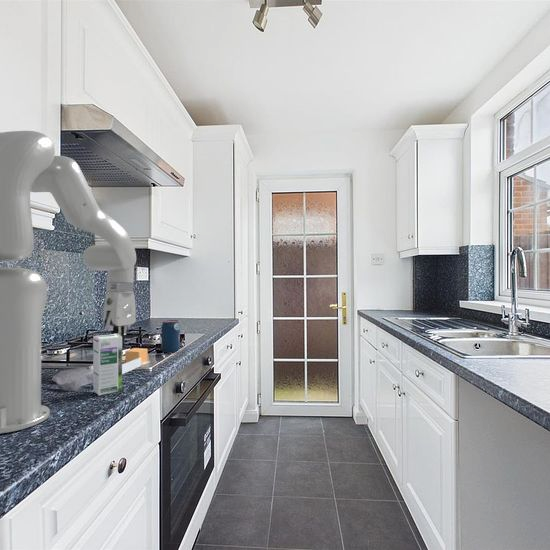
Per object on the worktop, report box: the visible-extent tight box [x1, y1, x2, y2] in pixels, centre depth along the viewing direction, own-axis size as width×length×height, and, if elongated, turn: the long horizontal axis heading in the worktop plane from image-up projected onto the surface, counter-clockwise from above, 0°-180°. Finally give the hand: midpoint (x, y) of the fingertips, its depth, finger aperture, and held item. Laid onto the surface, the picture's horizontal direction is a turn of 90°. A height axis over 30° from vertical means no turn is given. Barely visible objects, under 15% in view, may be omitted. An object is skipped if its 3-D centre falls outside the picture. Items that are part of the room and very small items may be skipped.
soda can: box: [160, 319, 181, 354], centre depth 139 cm, size 7×7×12 cm
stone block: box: [52, 366, 93, 392], centre depth 98 cm, size 12×5×10 cm
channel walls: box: [88, 358, 142, 375], centre depth 108 cm, size 13×9×4 cm, turn 168°
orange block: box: [124, 347, 149, 363], centre depth 119 cm, size 5×5×4 cm
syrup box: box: [92, 333, 123, 397], centre depth 92 cm, size 6×6×14 cm
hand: (118, 348), depth 109 cm, fingers closed
